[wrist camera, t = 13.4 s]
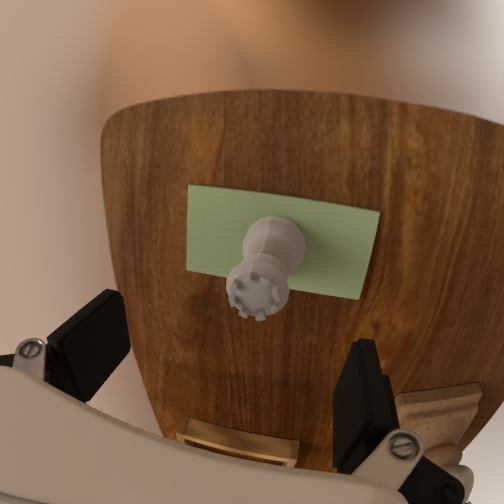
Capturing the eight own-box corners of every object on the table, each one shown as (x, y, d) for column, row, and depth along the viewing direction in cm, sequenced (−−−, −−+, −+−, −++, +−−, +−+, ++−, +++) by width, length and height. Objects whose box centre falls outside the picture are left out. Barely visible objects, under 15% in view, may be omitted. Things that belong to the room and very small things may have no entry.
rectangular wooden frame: (188, 446, 36) (182, 461, 33) (184, 415, 32) (175, 432, 29) (287, 468, 33) (284, 484, 30) (300, 441, 30) (297, 460, 27)
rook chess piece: (241, 216, 21) (201, 256, 14) (304, 212, 20) (298, 253, 13) (248, 273, 22) (217, 334, 15) (307, 271, 21) (301, 337, 14)
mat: (188, 267, 24) (186, 270, 23) (190, 184, 21) (188, 185, 21) (358, 297, 22) (359, 300, 21) (379, 211, 19) (380, 212, 19)
